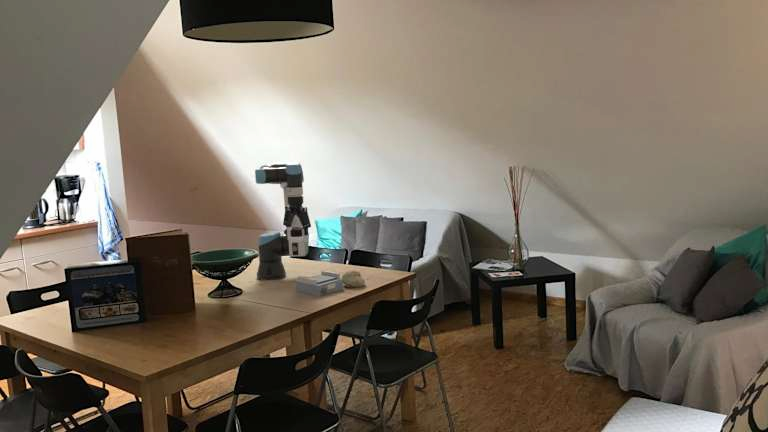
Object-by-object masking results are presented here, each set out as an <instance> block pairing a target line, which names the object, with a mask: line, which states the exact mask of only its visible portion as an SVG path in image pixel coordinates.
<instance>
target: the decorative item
mask: <svg viewBox="0 0 768 432" xmlns="http://www.w3.org/2000/svg"><path fill="white" fill-rule="evenodd" d="M361 274H362V273H361V272H360V271H356V270H350V271H346V273H344V274H343V275H342V276H341V279H343V286H345V287H347V288H351V289H352V288H361V287H362V286H363V287H364V286H365V283H366V282H365V278H364V277H361V276H362V275H361Z"/></svg>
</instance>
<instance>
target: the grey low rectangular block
mask: <svg viewBox="0 0 768 432" xmlns="http://www.w3.org/2000/svg"><path fill="white" fill-rule="evenodd" d="M320 271H321V272H320V274H317V275H313V276H308V277H305V276H297V280H296V281H295V282H294V283H295V292H298V293H302V294H307V295H312V296H317V297H320V296H323V295H326V294H331V293H334V291H335V292H337V291H341V290H344V283H343V279H342V277H341V275H340V272H339V273H338V272H334V271H333V272H332V271H329V270H320Z"/></svg>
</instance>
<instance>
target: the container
mask: <svg viewBox="0 0 768 432" xmlns="http://www.w3.org/2000/svg"><path fill="white" fill-rule="evenodd" d="M290 233H291V239H290V240H289V256H288V257H291V258H292V257H306V256H307V254H308V253H307V242H303V237H302V228H295V229H292V230H291V231H290Z"/></svg>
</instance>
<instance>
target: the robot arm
mask: <svg viewBox="0 0 768 432" xmlns="http://www.w3.org/2000/svg"><path fill="white" fill-rule="evenodd" d="M254 174H255V183H256V184H257V185H264V184H265V185H266V184H269V185H279V187H280V188H281V189H282V190H283V191H282V192H283V201H284V202H283V203H284V216H283V223H282V224H283V226H284V227H286V228H285V229H284V231H283V233H282V234H281V232H280V231H272V232H271V231H270V232H266V233H262V234H260V235H259V236H258V238H257V246H258V261H259V264H258V267H257V272H256V278H257V279H258V280H261V281H269V280H271V281H272V280H278V279H283V278H285V277H286V276H287V273H286V272H287V271H286V269H285V266H284V264H283V260H282V257H290V256H289V240H290V239H291V233H290V231H291V230H292V229H295V228H302V237H303V242H307V254H308V253H309V241H310V240H309V239H310V232H309V229H310V228H311V227H312V225H311V220H310V217H309V214H308V207H307V206H306V207H305V206H303V204H304V196H303V195H304V189H303V188H304V187H303V183H304V181H305V178H304V171H303V167H302V165H301V162H298V161H289V162H286V161H285V162H270V163H266V164H264V165H261V166H260V167H258V168H256V169H255V170H254Z"/></svg>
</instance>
